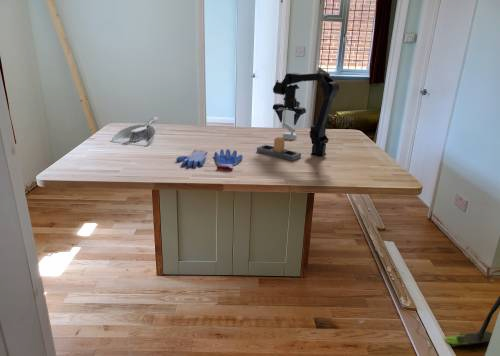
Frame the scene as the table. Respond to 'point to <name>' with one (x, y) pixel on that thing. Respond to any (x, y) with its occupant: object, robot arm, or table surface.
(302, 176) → the table surface
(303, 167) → the table surface
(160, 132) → the table surface
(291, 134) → the wall hook
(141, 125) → the dustpan and brush
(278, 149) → the orange peg
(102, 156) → the table surface
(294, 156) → the rail
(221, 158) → the pair of gloves
